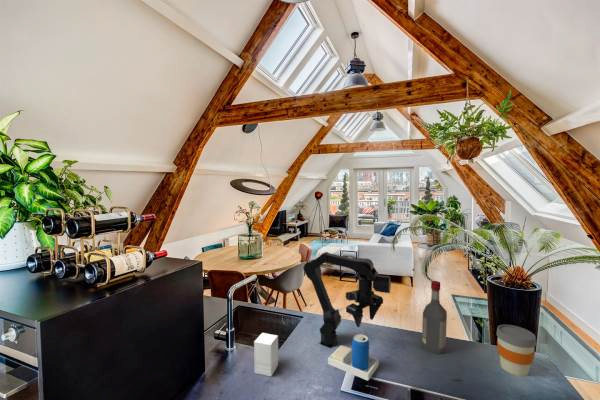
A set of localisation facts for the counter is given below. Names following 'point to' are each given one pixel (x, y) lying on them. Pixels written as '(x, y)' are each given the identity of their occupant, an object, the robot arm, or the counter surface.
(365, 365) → the beverage can
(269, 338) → the supplement box
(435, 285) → the liquor
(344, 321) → the counter surface
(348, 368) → the white rectangular tray
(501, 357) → the reusable coffee cup
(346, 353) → the beige rectangular block
